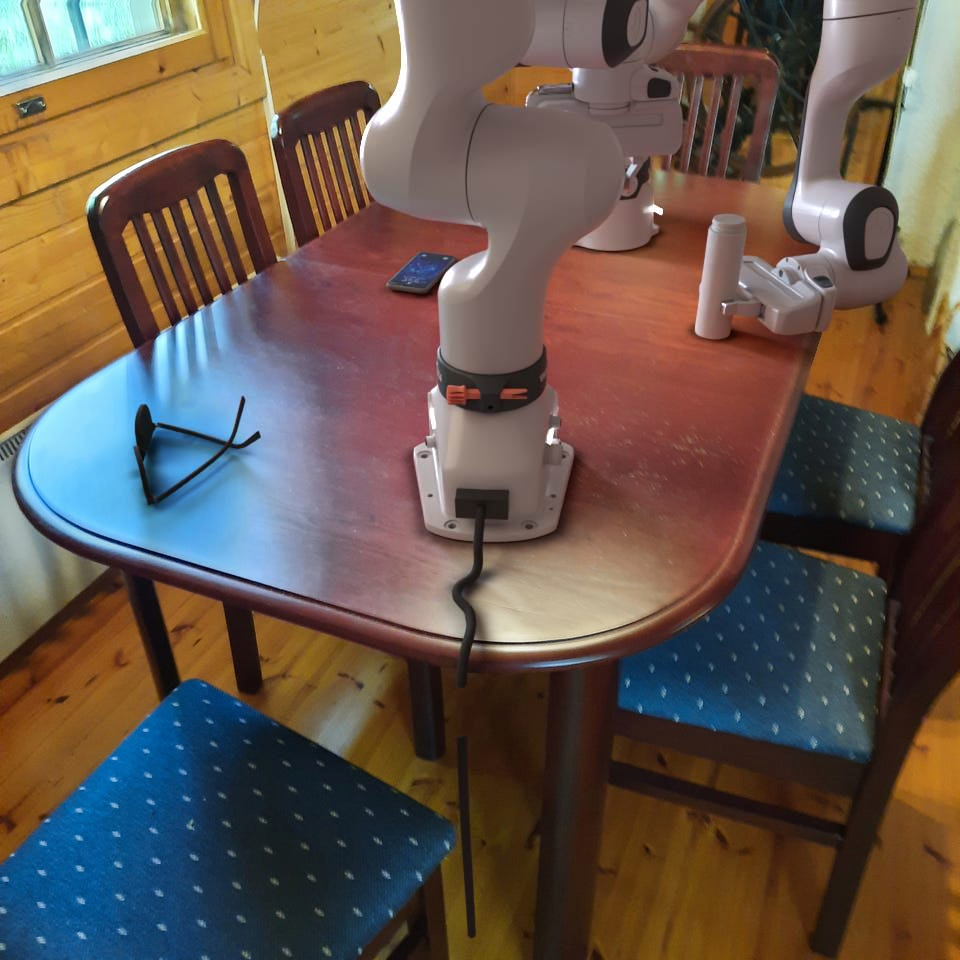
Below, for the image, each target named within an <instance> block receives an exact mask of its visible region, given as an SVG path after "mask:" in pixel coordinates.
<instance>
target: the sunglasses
mask: <svg viewBox="0 0 960 960" xmlns="http://www.w3.org/2000/svg"><path fill="white" fill-rule="evenodd" d="M245 404H246V398H245V396H244V395H241V396H240V401H239V405H238V408H237V409H238V410H237V413H236V417H235V421H234V425H233V429H232V432H231V435H230V437H229V439H228V440H227V441H226V440H223V439H220V438H217V437H214V436H211V435H208V434H204V433H201V432H198V431H195V430H192V429H188V428H184V427H180V426H176V425H172V424H169V423H164V422H159V421H157V422H153V418H152V414H151V411H150V408H149V406H148V404H146V403H142V404H140V405H139V406H138V409H137V411H136V413H135V418H134V436H135V444H136V445H133V447H132V448H133V452H134V455H135V460H136V463H137V467H138V471H139V475H140V479H141V485H142V489H143V493H144V497H145V500H146V503H147V505H148V506H151V505H154V504H155V501H156V503H157V504H160V503H162V501H164V500H165V499H167V498H168V497H170V496H171V495H172V494H174V493H175V492H177V491H178V490H179V489H181V488H182V487H184V486H185V485H187V484H188V483H189V482H191V481H192V480H193V479H194V478H196V477H197V476H198V475H200V474H202V473H203V472H204V471H205V470H206V469H208V467H210V466H211V465H212V464H213V463H215V462H216V461H217V460H218V459H220V457H222V455H223V454H224V453H225V452H226V451H228V449H229V448H231V449H233V450H242V449H246V448H247V447H249V446H250V445H252V444H254V443H255V442H256V441H258V440H260V439H261V438H262V435H261V432H260V430H256V431H255V432H254V433H253V434H252V435H250V436H249V437H248V438H247V439H246V440H245V441H244V442H241V443H233V442H234V441H235V438H236V435H237V434H238V429H239V426H240V423H241V419H242V415H243V412H244V409H245ZM157 428H160V429H164V430H168V431H172V432H175V433H179V434H183V435H188V436H191V437H195V438H199V439H202V440H205V441H209V442H211V443H215V444H218V445H221V446H223V447H221V449H220V450H219V451H217V452H216V453H215V454H214V455H213V456H212V457H211V458H209V459H208V460H207V461H206V462H204V463H203V464H202V465H200V466H199V467H198V468H196V469H195V470H193V471H192V472H191V473H189V474H188V475H187V476H186V477H184V478H183V479H180V481H178V482H177V483H176V484H174V485H172V486H171V487H169V488H168V489H166V490H165V491H163V492H162V493H161V494H160V495H158V496H157V497H154V495H152V491H151V487H150V484H149V479H148V474H147V470H146V467H145V463H144V461H145V459H146V456H147V453H148V450H149V448H150V445H151V442H152V438H153V435H154V432H155V430H157Z"/></svg>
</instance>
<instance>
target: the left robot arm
mask: <svg viewBox="0 0 960 960" xmlns="http://www.w3.org/2000/svg"><path fill="white" fill-rule="evenodd" d="M394 5H395V11H396V16H397V24H398V30H399V38H400V39H399V40H400V49H401V65H400V66H401V67H400V72H399V77H398V82H397V84H396V87H395V89H394V92H393V93H392V95H391V96H390V98H389V99H388V101H386V103H384V104H383V105H381V107H379V109H378V110H377V111H376V112H375V113H374V114H373V115H372V117H371V118H370V120H369V121H368V123H367V125H366V128H365V130H364V132H363V135H362V139H361V143H360V149H359V164H360V170H361V175H362V179H363V181H364V184H365V186H366V188H367V190H368V192H369V194H370V195H371V197H372V198H373V200H375V202H376V203H378V204H379V205H381V206H383V207H386V208H389V209H391V210H393V211H397V212H398V213H402V214H405V215H407V216H410V217H413V218H416V219H419V220H423V221H424V220H425V221H433V222H442V223H450V224H456V225H458V224H459V225H464V226H472V227H473V226H474V227H479V228H481V229H485V230H486V232H487V238H488V239H487V249H485V250H481V251H479V252H476V253H473V254H471V255H468V256H467V257H465V258H462V259H461V260H459V261H458V262H455V263H454V264H453V265H452V266H451V267H450V269H449V270H448V271H447V272H446V273H445V274H444V275H443V276H442V278H441V281H440V284H439V287H438V290H437V307H438V324H439V326H438V327H439V342H440V343H439V344H440V345H439V346H438V348H437V354H436V356H437V358H436V363H435V364H436V376H437V384H436V385H435V387H434V386H433V388H432V389H431V390H430V391H428V392H427V406H428V407H427V409H428V424H429V435H426V436H425V438H424V442H422V443H419V444H417V445H416V446H415V447H414V448H413V454H412V455H413V457H412V458H413V464H414V470H415V475H416V476H415V477H416V480H417V487H418V492H419V498H420V499H419V500H420V503H421V504H420V505H421V510H422V516H423V522H424V526H425V529H426V530H427V531H428V532H429V533H432V534H434V535H437V536H440V537H443V538H448V539H452V540H457V541H466V542H472V554H473V557H472V558H473V563H472V568H471V570H470V572H469V573H468V574H467V575H466V576H464V577H462V578H461V579H459V580H458V581H457V582H456V583H455V584H453V586H452V590H451V597H452V601H453V602H454V603H455V605H456V606H457V607H458V608H459V609H460V610H461V611H462V612H463V615H464V617H465V629H464V630H465V631H464V634H463V636H462V637H463V638H462V641H461V644H460V648H459V653H458V657H457V663H456V664H457V666H456V675H455V676H456V678H455V686H456V687H457V688H459V689H464V688H465V687H467V685H468V671H469V670H468V669H469V662H470V656H471V651H472V647H473V644H474V641H475V638H476V633H477V632H476V631H477V615H476V611H475V609H474V607H473V606H472V605H471V603H470V602H469V601H467V599H466V598H465V597H464V595H463V591H464V590H465V589H466V588H468V587H469V586H471V585H472V584H475V582H476V581H477V580H478V579H479V577H480V576H481V574H482V571H483V567H484V543H500V542H501V543H502V542H503V543H506V542H518V541H527V540H531V539H536V538H539V537H543V536H546V535H548V534H550V533H552V532H554V531H556V530H557V527H558V525H559V520H560V518H561V517H560V516H561V512H562V508H563V504H564V500H565V497H566V492H567V488H568V483H569V480H570V476H571V472H572V469H573V468H572V467H573V464H574V459H575V450H574V447H573V446H571V445H570V444H568V443H566V442H563V441H561V439H560V438H558V430H560V429H561V428H562V416H559V392H557V391H556V390H555V389H554V388H553V387H552V386H551V385H550V384H549V383H548V382H547V379H548V367H549V361H548V356H547V355H548V354H547V353H548V351H547V347H546V345H545V344H544V330H545V329H544V328H545V316H546V307H547V298H548V292H549V291H548V290H549V286H550V282H551V279H552V276H553V275H554V272H555V270H556V268H557V266H558V265H559V263H560V261H561V260H562V259H563V258H564V256H565V255H566V253H567V252H568V251H569V250H570V249H571V248H572V247H573V246H575V245H574V244H575V243H576V242H577V241H579V240H580V239H581V238H583V237H584V236H586V235H588V234H589V233H591V232H593V231H594V230H596V229H597V228H598V227H600V226H601V225H602V224H603V223H604V222H605V221H606V220H607V219H608V217H609V216H610V215H611V214H612V212H613V211H614V209H615V208H616V206H617V204H618V202H619V199H620V197H621V194H622V191H623V190H632V189H633V179H634V177H635V176H636V174H637V173H638V171H639V170H640V168H641V167H642V165H643V158H644V156H649V157H655V156H656V157H657V156H673V155H675V154H676V153H677V152H678V151H679V150H680V149H681V146H682V142H683V109H682V105H681V104H680V101H678V100H677V99H676V98H677V97H678V96H679V93H680V82H679V81H678V79H677V78H676V77H675V76H674V75H673V74H671V73H670V72H668V71H667V70H665V69H662V68H660V67H656V66H652V65H651V64H648V65H646V64H644V57H645V50H644V45H643V41H644V39H645V37H646V32H647V23H648V11H649V0H394ZM531 67H540V68H541V67H544V68H559V69H568V68H573V73H572V79H571V80H572V81H571V82H567V83H566V82H565V83H564V82H563V83H556V84H545V83H544V84H539V85H537V86H536V87H535V88H534V89H532V90H530V91H529V93H528V94H527V96H526V99H525V105H513V104H502V103H501V104H500V103H495V102H490V101H488V100H487V99H486V97H485V94H484V92H483V87H485V86H487V85H490V84H491V83H494V82H495V81H497V80H499V79H500V78H502V77H504V76H505V75H507V74H508V73H509V72H510V71H512V70H513V69H514V68H531ZM624 157H629V159H630V161H631V162H632V164H631V165H630V167H629V169H628V170H627V172H626V174H625V160H624ZM468 752H469V751H468V735H463V736H460V737H457V738H456V755H457V756H456V759H457V761H456V762H457V763H456V764H457V788H458V789H457V790H458V809H459V825H460V842H461V856H462V867H463V868H462V870H463V884H464V898H465V899H464V900H465V914H466V915H465V916H466V931H467V936H468V938H469V939H475V937H476V936H477V928H476V924H477V923H476V908H475V907H476V906H475V888H474V887H475V886H474V871H473V870H474V869H473V852H472V834H471V817H470V816H471V814H470V813H471V812H470V793H469V792H470V791H469V790H470V789H469V760H468V758H469V756H468V755H469V753H468Z"/></svg>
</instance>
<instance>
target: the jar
mask: <svg viewBox="0 0 960 960" xmlns="http://www.w3.org/2000/svg"><path fill="white" fill-rule="evenodd" d="M711 222H712V223H711V225H710V226H708V230H707V231H708V232H707V237H706V238H707V240H706V247H705V252H704V260H703V268H702V275H701V282H700V284H701V289H700V294H699V297H698V303H697V311H696V319H695V324H694V325H695V326H694V332H695V334H696V335H697V336H698V337H700V338H704V339H707V340H723V339H727V338H728V337H729V336H730V334H731V331H732V325H733V324H732V323H733V318H734V315H732V316H725V315H724V314H723V313H722V312H721V311H720V307H721V306H720V305H721V302H722V301H723V300H730V299H733V300H734V301H736V295H737V289H738V283H739V277H740V271H741V265H742V259H743V256H744V251H745V246H746V239H747V235H748V234H747V233H748V228H746V226H747V225H746V224H747V220H746V218H745V216H742V215H740V214H737V213H736V214H735V213H719V214H716V215H715V216H714V217H713V218H712V219H711Z"/></svg>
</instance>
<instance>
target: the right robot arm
mask: <svg viewBox="0 0 960 960" xmlns="http://www.w3.org/2000/svg"><path fill="white" fill-rule="evenodd" d="M704 1H705V0H649V11H648V23H647V32H646V37H645V39H644V41H643V45H644V50H645V57H644V64H646V65H652V64H655V63H657V62H659V61H662V60H663V59H664V58H666V57H668V56H669V55H670V54H672V53H673V52H675V51H676V49H678V48H679V47H680V45H681V44H682V43H683V41H684V39H685V37H686V34H687V31H688V27H689V22H690V20H691V19H692V18H693V16H694V15H695V13H696V11H697V9H698V8H699V7H700V6H701V5H702V3H703V2H704ZM917 6H918V0H823V10H822V19H823V20H822V27H821V38H820V44H819V51H818V55H817V59H816V63H815V66H814V69H813V71H812V72H811V74H810V76H809V79H808V83H807V86H806V90H805V96H804V102H803V107H802V113H801V120H800V129H799V137H798V143H797V151H796V159H795V166H794V172H793V174H792V179H791V182H790V185H789V188H788V190H787V193H786V196H785V199H784V201H783V206H782V223H783V226H784V230H785V231H786V233H787V234H788V236H789V237H790V238H791V239H793V240H794V241H795V242H797V243H799V244H802V245H803V244H805V245H811V246H817V247H819V250H818V251H817V252H816V253H808V254H802V255H794V256H787V257H784V258H782V259H781V260H780V261H778V262H777V264H776V265H775V267H774V266H773V265H771V264H770V263H769V262H767V261H765V260H764V259H763V258H761V257H759V256H755V255H743V259H742V265H741V271H740V277H739V283H738V289H737V295H736V301H734V300H733V299H730V300H723V301H722V302H721V305H720V306H721V307H720V311H721V312H722V313H723V314H724V315H725V316H732V315H733V316H738V317H744V318H751V319H752V318H755V319H756V320H757V321H758V322H759V323H761V324H762V325H763V326H765V328H767V329H768V330H769V331H770V332H772V334H775V335H780V336H794V335H795V336H796V335H801V334H802V335H803V334H807V333H811V332H815V333H823V332H827V331H828V330H829V327H830V325H831V322H832V318H833V316H834V315H833V314H834V310H836V311H843V312H844V311H850V310H856V309H857V310H858V309H861V308H865V307H870V306H874V305H878V304H880V303H883V302H885V301H888V300H890V299H891V298H892V297H894V296H895V295H897V294H898V293H899V292H900V291H901V289H902V288H903V286H904V285H905V283H906V281H907V277H908V272H909V263H908V258H907V255H906V254H905V252H904V251H903V249H902V248H901V246H900V244H899V240H898V231H897V230H898V226H899V220H900V209H899V203H898V201H897V199H896V197H895V195H894V194H893V193H892V192H891V191H890V190H889V189H887V188H886V187H883V186H881V185H876V184H870V183H865V182H859V181H851V180H846V179H844V178H843V177H842V175H841V171H840V162H841V156H842V150H843V144H844V138H845V132H846V131H845V130H846V125H847V120H848V116H849V113H850V111H851V110H852V108H853V106H854V104H855V103H856V102H857V101H858V100H859V99H860V98H861V97H863V95H865V94H867V93H868V92H870V91H872V90H873V89H876V88H877V87H879V86H880V85H882V84H884V83H885V82H887V81H888V80H889V79H890V78H892V76H894V75H895V74H896V73H897V72H898V71H899V69H900V68H901V67H902V66H903V65H904V63H905V62H906V60H907V59H908V56H909V53H910V51H911V47H912V44H913V41H914V36H915V31H916V20H917ZM567 69H568V71H570V72H571V73H572V74H573V68H567ZM624 160H625V174H626V172H627V170H628V169H629V167H630V165H631V164H632V162H631V161H630V159H629V157H624ZM651 167H652V166H651V156H644V158H643V165H642V167H641V168H640V170H639V171H638V173H637V174H636V176H635V177H634V179H633V189H632V190H623V191H622V194H621V197H620V199H619V202H618V204H617V206H616V208H615V209H614V211H613V212H612V214H611V215H610V216H609V217H608V219H607V220H606V221H605V222H604V223H603V224H602V225H601V226H600V227H598V228H597V229H596V230H594V231H593V232H591V233H589V234H588V235H586V236H584V237H583V238H581V239H580V240H579V241H577V242H576V243H575V244H574V245H573V246H579V247H583V248H587V249H591V250H595V251H608V252H612V251H613V252H616V251H617V252H619V251H628V250H633V249H637V248H640V247H642V246H645V245H647V244H648V243H649V241H651V238H652V236H655V235H657V234H658V233H659V232H660V229H659V228H660V226H659V224H656V223H654V212H655V213H657V214H658V215H660V216H662V215H663V208H660V206H659V207H658V206H657V205H655V188H654V187H653V186H652V185H651V184H650V183H649V179H650V172H651V169H652V168H651ZM700 289H701V283H700V284H699V286H698V294H699V295H700Z"/></svg>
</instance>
